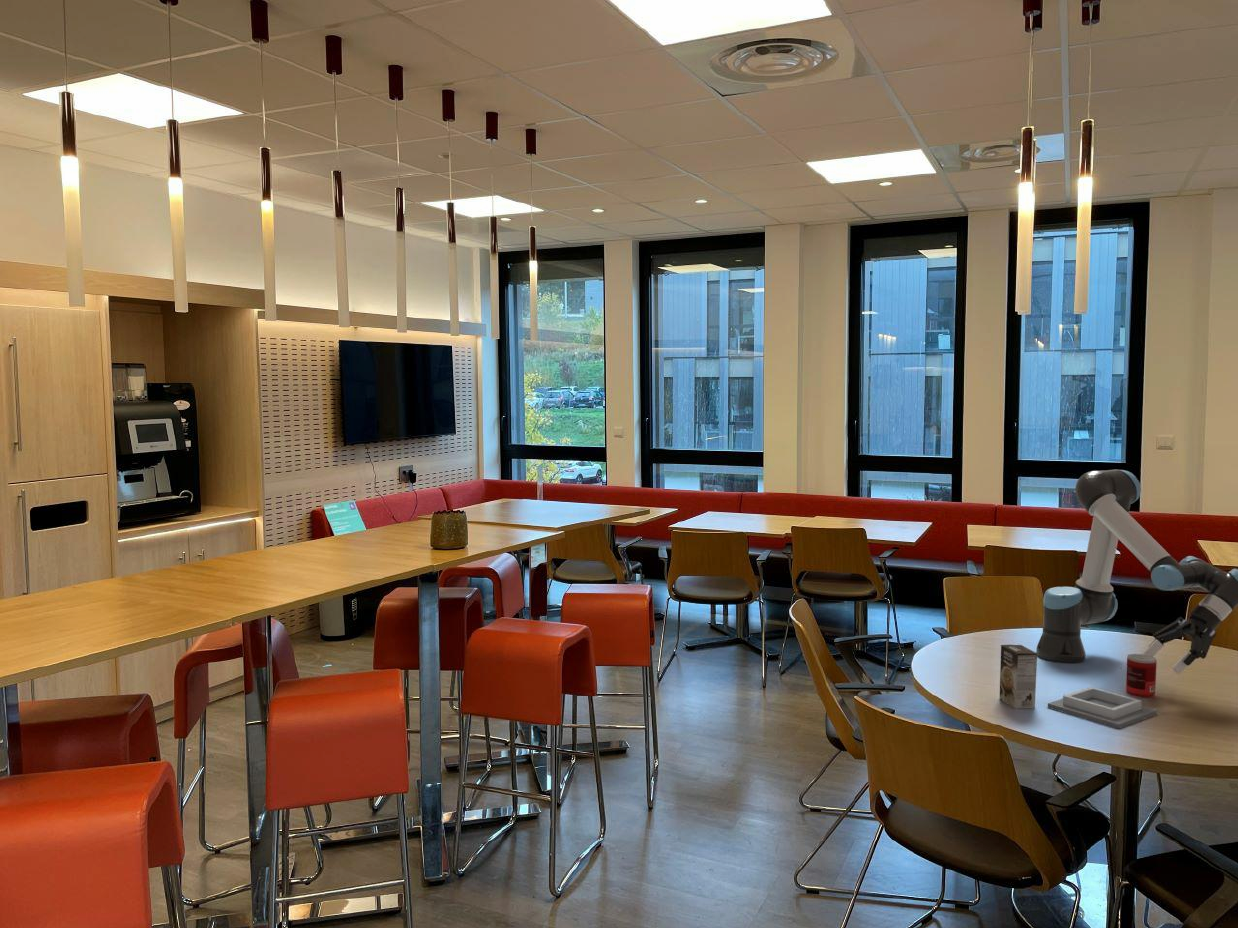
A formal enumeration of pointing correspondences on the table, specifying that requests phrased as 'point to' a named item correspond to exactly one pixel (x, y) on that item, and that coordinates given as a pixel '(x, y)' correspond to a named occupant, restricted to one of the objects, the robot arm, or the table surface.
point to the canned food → (1141, 675)
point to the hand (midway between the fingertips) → (1159, 664)
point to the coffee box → (1018, 676)
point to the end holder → (1103, 707)
